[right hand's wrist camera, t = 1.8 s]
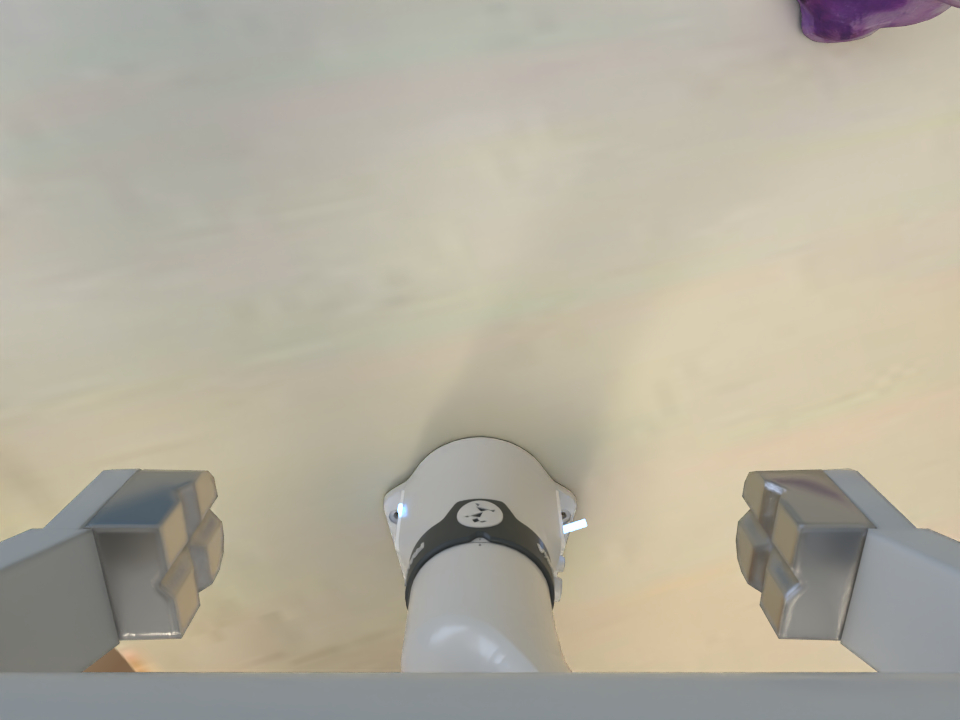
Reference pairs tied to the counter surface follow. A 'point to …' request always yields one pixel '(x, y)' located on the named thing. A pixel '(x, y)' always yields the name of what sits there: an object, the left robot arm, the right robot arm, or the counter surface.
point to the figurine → (864, 16)
